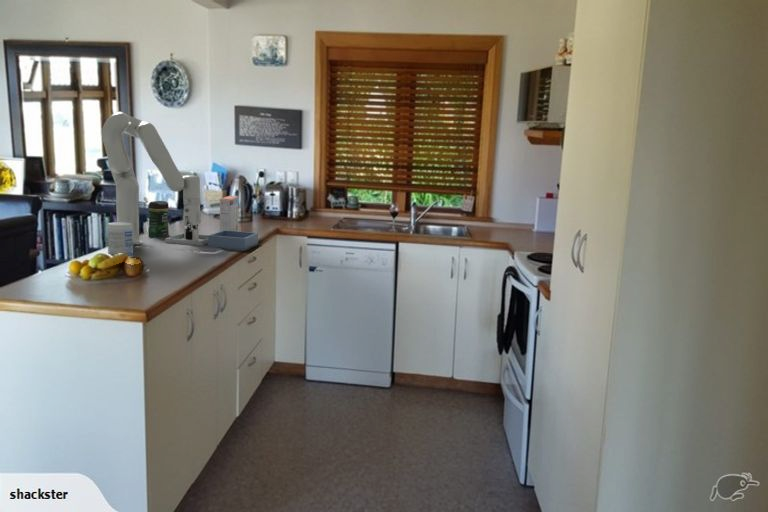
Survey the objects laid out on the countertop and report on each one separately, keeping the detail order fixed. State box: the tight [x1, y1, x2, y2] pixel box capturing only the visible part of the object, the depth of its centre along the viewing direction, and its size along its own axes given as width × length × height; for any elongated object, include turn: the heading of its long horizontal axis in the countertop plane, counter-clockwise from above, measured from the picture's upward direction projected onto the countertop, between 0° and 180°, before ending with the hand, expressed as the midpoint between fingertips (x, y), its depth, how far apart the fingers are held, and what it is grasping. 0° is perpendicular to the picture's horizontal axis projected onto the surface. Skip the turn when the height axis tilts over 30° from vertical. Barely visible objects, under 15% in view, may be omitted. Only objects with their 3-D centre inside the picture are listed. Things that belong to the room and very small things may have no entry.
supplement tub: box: [107, 221, 134, 257], centre depth 251 cm, size 10×10×15 cm
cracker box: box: [219, 195, 239, 231], centre depth 317 cm, size 14×6×21 cm, turn 177°
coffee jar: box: [147, 200, 170, 239], centre depth 303 cm, size 10×8×19 cm
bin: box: [207, 230, 259, 252], centre depth 293 cm, size 18×18×6 cm
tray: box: [164, 232, 209, 247], centre depth 295 cm, size 18×18×3 cm
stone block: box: [183, 228, 200, 241], centre depth 295 cm, size 5×5×6 cm
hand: (191, 238), depth 295 cm, fingers closed on stone block, 5 cm apart
